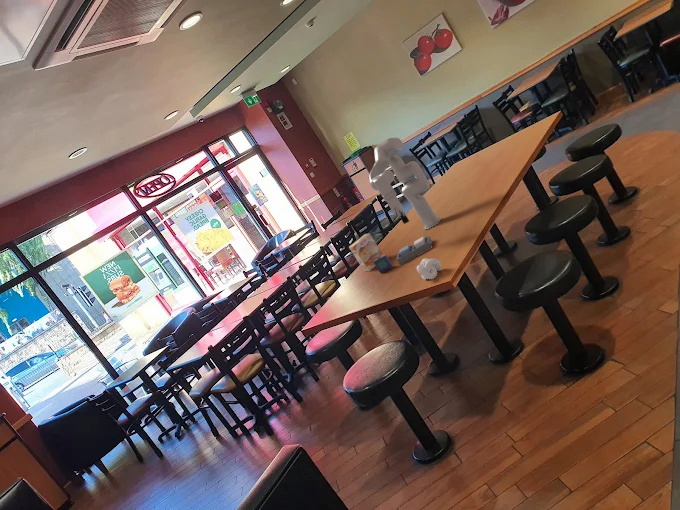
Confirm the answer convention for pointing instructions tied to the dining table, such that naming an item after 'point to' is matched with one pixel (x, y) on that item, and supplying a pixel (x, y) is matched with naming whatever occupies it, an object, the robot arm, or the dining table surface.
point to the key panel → (415, 251)
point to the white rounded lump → (428, 268)
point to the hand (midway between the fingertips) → (406, 222)
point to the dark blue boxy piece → (383, 263)
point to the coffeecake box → (366, 251)
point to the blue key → (405, 250)
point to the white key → (419, 242)
